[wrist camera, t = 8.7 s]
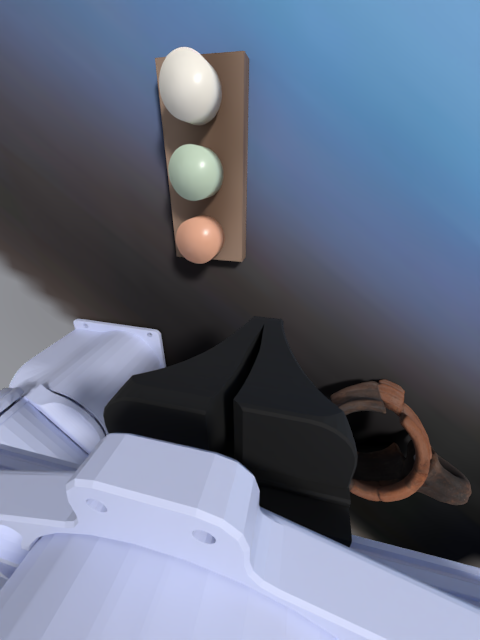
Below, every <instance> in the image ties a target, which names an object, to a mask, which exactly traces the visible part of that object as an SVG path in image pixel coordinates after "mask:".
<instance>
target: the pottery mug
mask: <svg viewBox="0 0 480 640" xmlns="http://www.w3.org/2000/svg"><path fill="white" fill-rule="evenodd" d="M404 393H405V391H404V390H403V389H402V388H401V387H400V386H399V385H397V384H395V383H393V382H390V381H388V380H385V379H382V380H379V382H378V383H377V382H375V381H369V382H363V383H359V384H356V385H352V386H349V387H346V388H343V389H341V390H340V391H337V392H335V393H333V394H332V395H331V396H330V398H331V402H333V403H334V404H335V405H336V406H338V407H339V408H340V409H341V410H342V411H343V412H344V413H345V416H346V415H348V414H350V413H353V412H357V411H374V412H379V413H383V414H386V408H388V409H390V410H392V411H393V412H395V413H396V414H397V415H398V416H399V417H400V424H401V425H402V426H403V427H404V429H405V430H406V431H407V432H408V434H409V435H410V437H411V439H412V440H410V441H409V443H408V450H407V457H406V458H405V457H404V455H403V453H402V452H401V451H400V449H399V446H398V445H397V444H396V443H392V444H391V445H390V446H389V447H387V448H385V449H383V450H380V451H376V452H370V453H363V452H358V451H357V456H358V458H357V466H356V469H355V472H354V474H353V477H352V480H351V483H350V486H349V491H351V492H352V493H353V494H355V495H358V496H360V497H362V498H365V499H368V500H373V501H381V500H382V501H383V502H391V501H398V500H401V499H404V498H407V497H409V496H410V495H412V494H413V493H415V492H416V491H418V492H421V493H423V494H426V495H428V496H430V497H432V498H434V499H436V500H438V501H441V502H445V503H449V504H452V505H461V504H465V503H466V502H467V501H468V498H469V496H470V495H471V486H470V482H469V481H468V479H467V478H466V477H465V476H464V475H463V474H462V473H461V472H460V471H459V470H458V469H456V468H455V467H454V466H452V465H451V464H450V463H448V462H447V461H446V460H444V459H443V458H441V457H440V456H439V455H437V454H436V452H435V451H434V450H433V448H432V447H431V446H430V443H429V439H428V436H427V433H426V432H425V429H424V427H423V426H422V424H421V422H420V420H419V418H418V417H417V415H416V414H415V413H414V412H413V410H412V409H411V408H410V407H409V406H408V405H407V404H405V403H404ZM385 407H386V408H385Z"/></svg>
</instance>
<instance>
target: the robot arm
mask: <svg viewBox="0 0 480 640" xmlns="http://www.w3.org/2000/svg"><path fill="white" fill-rule="evenodd" d="M73 323H74V326H75V330H73V331H72V332H70V333H69V334H67V335H66V336H64V337H63V338H61V339H60V340H58V341H57V342H55V343H54V344H52V345H51V346H49V347H48V348H46V349H45V350H43V351H42V352H40V353H39V354H37V355H36V356H34V357H33V358H31V359H30V360H29V361H27V362H26V363H25V364H24V365H23V366H22V367H21V368H20V369H19V370H18V371H17V372H16V374H15V375H14V377H13V379H12V381H11V383H10V385H9V388H3V389H2V390H0V640H480V568H478V567H474V566H470V565H466V564H462V563H458V562H454V561H451V560H447V559H443V558H439V557H435V556H431V555H428V554H424V553H420V552H416V551H412V550H408V549H404V548H401V547H397V546H393V545H389V544H385V543H381V542H377V541H374V540H370V539H366V538H362V537H358V536H354V535H351V526H350V516H349V506H350V501H351V500H350V491H349V486H350V483H351V480H352V477H353V474H354V472H355V469H356V466H357V458H358V456H357V449H356V445H355V441H354V438H353V434H352V431H351V428H350V426H349V423H348V420H347V418H346V416H345V413H344V412H343V411H342V410H341V409H340V408H339V407H338V406H336V405H335V404H334V403H333V402H331V401H330V400H329V399H328V398H326V397H325V396H324V395H323V394H322V393H321V392H320V391H319V390H318V389H317V388H316V387H315V385H314V384H313V383H312V382H311V381H310V380H309V378H308V377H307V376H306V375H305V373H304V372H303V370H302V369H301V367H300V366H299V364H298V363H297V361H296V359H295V357H294V355H293V353H292V351H291V349H290V347H289V345H288V342H287V339H286V336H285V333H284V328H283V321H282V320H281V319H274V318H265V317H256V316H254V317H253V318H252V319H251V320H249V321H248V322H247V323H246V324H245V325H244V326H242V327H241V328H240V329H239V330H237V331H236V332H235V333H234V334H232V335H231V336H230V337H228V338H227V339H225V340H224V341H223V342H221V343H220V344H218V345H216V346H215V347H213V348H211V349H209V350H207V351H206V352H204V353H202V354H199V355H197V356H195V357H193V358H190V359H188V360H186V361H183V362H180V363H177V364H175V365H171V366H168V367H166V362H165V356H164V350H163V344H162V337H161V333H160V332H159V331H158V330H156V329H149V328H142V327H135V326H127V325H120V324H113V323H106V322H99V321H92V320H85V319H76V320H74V322H73ZM150 333H151V334H152V335H150Z"/></svg>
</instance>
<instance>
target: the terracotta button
mask: <svg viewBox="0 0 480 640" xmlns="http://www.w3.org/2000/svg"><path fill="white" fill-rule="evenodd" d="M224 241H225V236H224V231H223V229H222V227H221V225H220V224H219V222H218V221H217V220H215V219H214V218H212V217H210V216H207V215H199V216H196V217H193V218H191V219H188V220H186V221H184V222H183V223H182V224H181V225H180V226H179V228H178V229H177V232H176V244H177V247H178V250H179V251H180V253H181V254H182V255H183V257H185V258H186V259H187V260H189V261H190V262H193V263H197V264H202V263H206V262H208V261H210V260H211V259H212V258H213V257H214V256H215V255H217V254H218V253H219V252H220V251H221V249H222V248H223V245H224Z"/></svg>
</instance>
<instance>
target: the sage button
mask: <svg viewBox="0 0 480 640" xmlns="http://www.w3.org/2000/svg"><path fill="white" fill-rule="evenodd" d="M168 171H169V178H170V182H171V184H172V186H173V188H174V189H175V191H176V192H177V193H178V194H179V195H180V196H181V197H183V198H185V199H187V200H190V201H197V200H202V199H205V198H209V197H211V196H213V195H214V194H216V193H217V192H218V190H219V189H220V187H221V185H222V181H223V167H222V164H221V161H220V159H219V157H218V156H217V155H216V154H215V153H214V152H213V151H212V150H211V149H209V148H207V147H203V146H198V145H193V144H186V145H183V146H180V147H179V148H177V149H176V150H175V152H174V153H173V154H172V156H171V158H170V162H169V168H168Z"/></svg>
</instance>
